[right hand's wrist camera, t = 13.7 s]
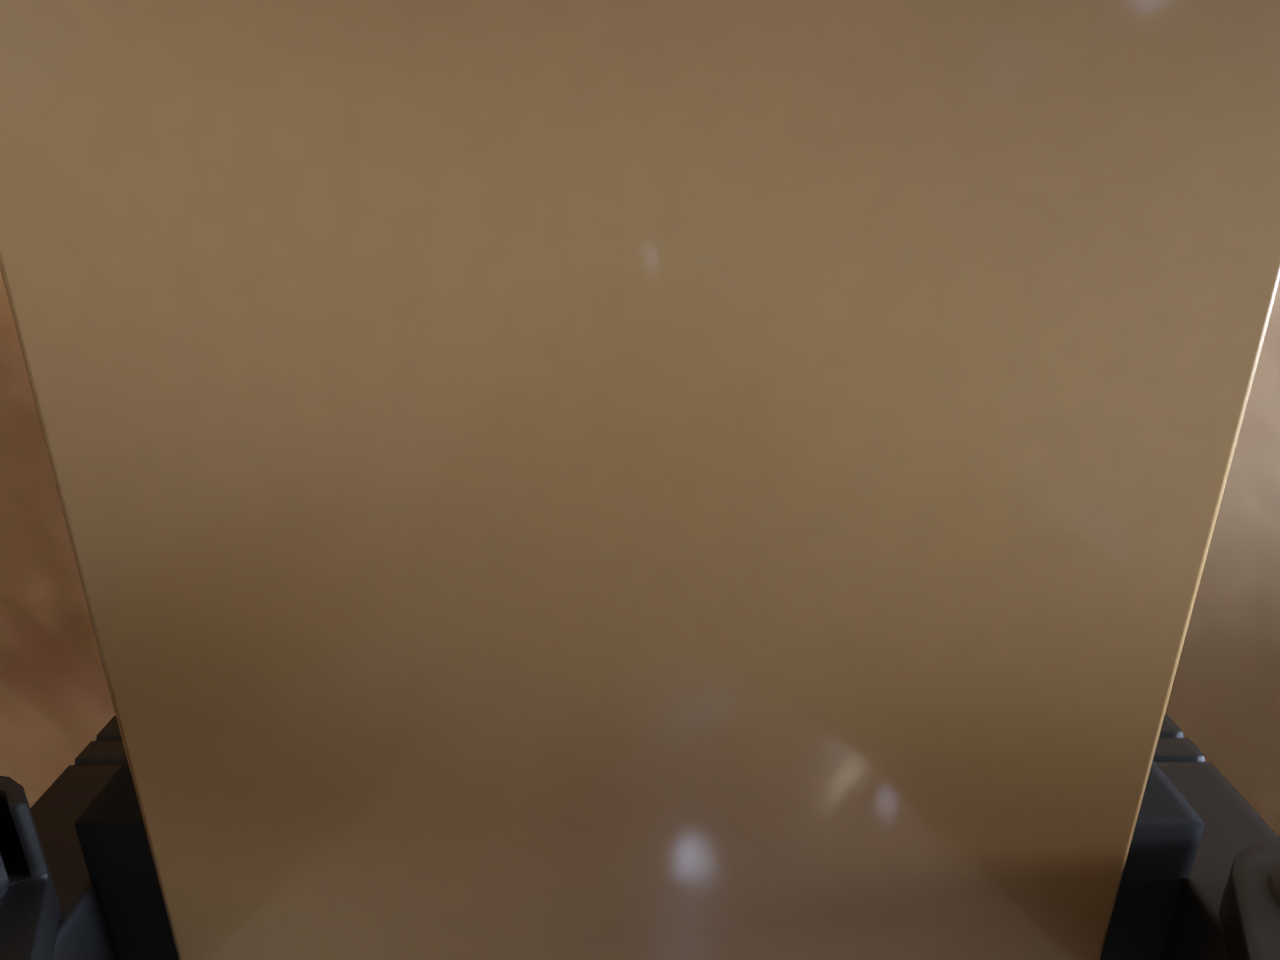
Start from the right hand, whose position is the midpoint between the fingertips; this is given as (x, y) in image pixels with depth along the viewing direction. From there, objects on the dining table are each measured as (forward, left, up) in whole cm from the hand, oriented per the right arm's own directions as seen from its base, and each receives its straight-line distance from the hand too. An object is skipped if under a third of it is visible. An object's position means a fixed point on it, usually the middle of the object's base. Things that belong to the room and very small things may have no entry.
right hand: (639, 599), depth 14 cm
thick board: (+3, -26, -1) cm, 26 cm away
